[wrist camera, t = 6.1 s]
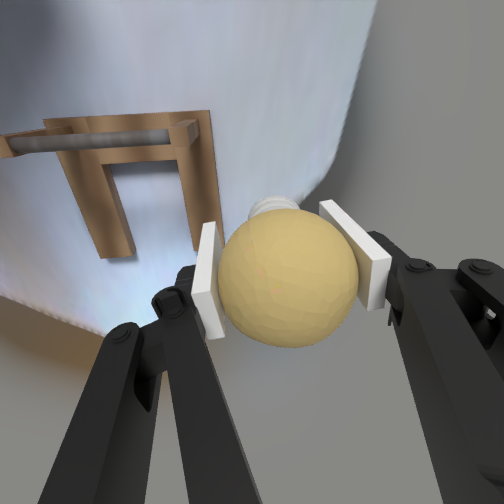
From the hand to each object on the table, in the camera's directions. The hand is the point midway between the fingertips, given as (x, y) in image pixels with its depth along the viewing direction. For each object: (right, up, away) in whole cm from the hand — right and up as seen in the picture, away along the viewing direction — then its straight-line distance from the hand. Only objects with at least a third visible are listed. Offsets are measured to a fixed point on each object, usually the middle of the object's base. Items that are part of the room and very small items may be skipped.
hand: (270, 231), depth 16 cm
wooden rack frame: (-15, +7, +18) cm, 25 cm away
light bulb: (0, +1, +2) cm, 3 cm away
